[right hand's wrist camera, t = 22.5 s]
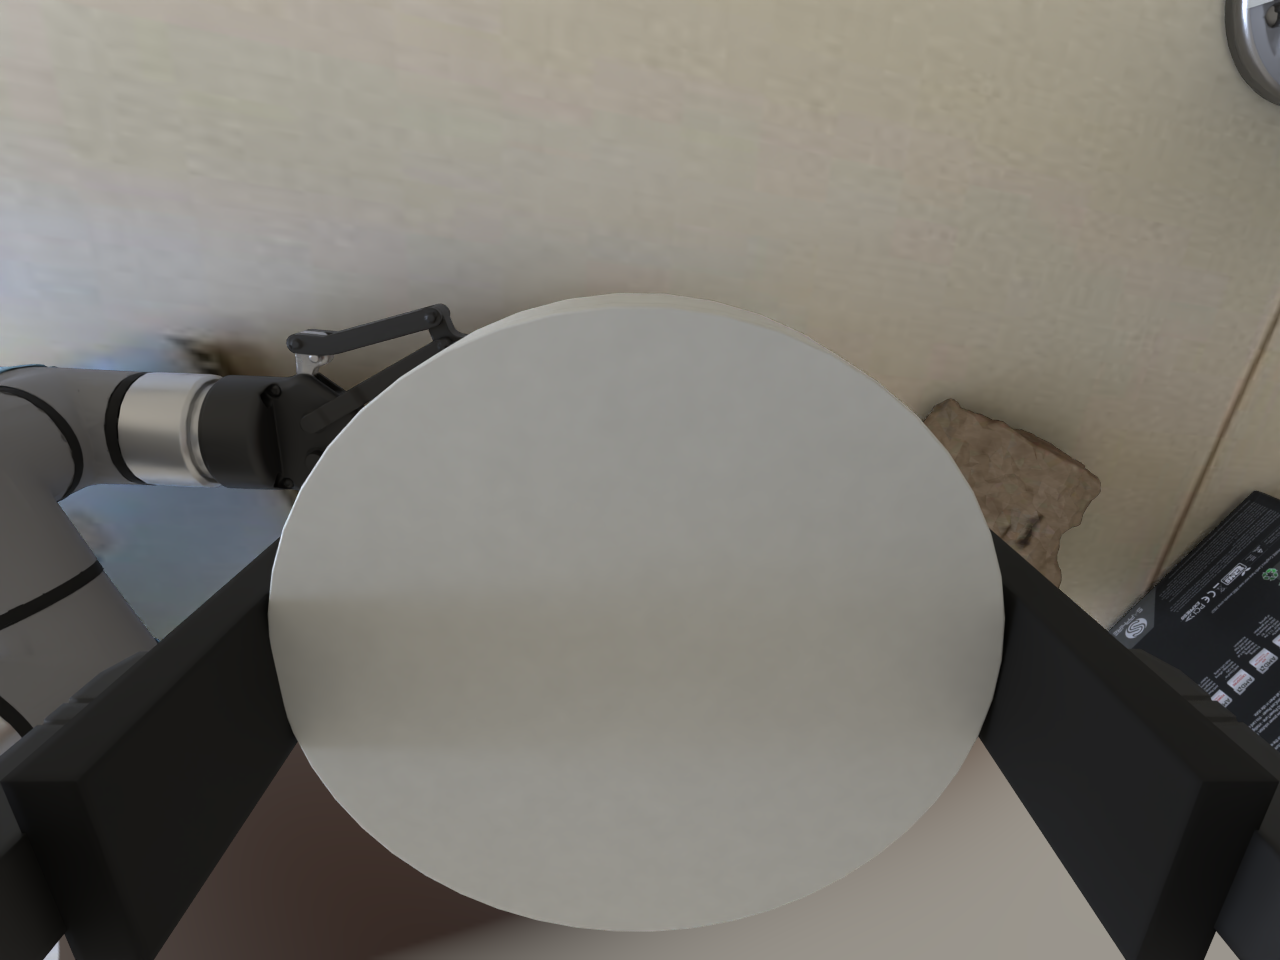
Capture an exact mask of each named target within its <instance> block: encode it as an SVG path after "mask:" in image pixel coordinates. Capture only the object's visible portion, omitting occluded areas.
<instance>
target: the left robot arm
mask: <svg viewBox="0 0 1280 960" xmlns="http://www.w3.org/2000/svg"><path fill="white" fill-rule="evenodd" d="M427 329H429V332H430V334H431V337H432V339H433V342H431V343H429V344H428V345H426V346H424V347H423V348H421V349H419V350H417V351H416V352H414V353H412V354H410V355H409V356H407V357H405V358H403V359H402V360H400V361H398V362H397V363H395V364H393V365H391V366H390V367H388V368H386V369H384V370H383V371H381V372H379V373H377V374H376V375H374V376H372V377H370V378H369V379H367V380H365V381H363V382H362V383H360V384H358V385H357V386H355V387H353V388H351V389H350V390H348V391H345V390H344V389H342V388H341V387H339V386H338V385H337V384H335V383H334V382H332V381H331V380H329V379H328V378H326V377H325V376H324V375H322V374H321V373H319V372H318V369H319V367H320V366H322V365H325V364H327V363H329V362H331V361H332V360H333V358H334V354H339V353H343V352H346V351H350V350H354V349H357V348H361V347H365V346H368V345H372V344H376V343H379V342H383V341H387V340H390V339H394V338H398V337H401V336H405V335H409V334H412V333H416V332H419V331H423V330H427ZM467 335H469V334H463V333H460V332H459V331H457V330H456V329H455V327H454V325H453V323H452V321H451V318H450V310H449V309H448V307H447V306H446V305H444V304H436V305H432V306H429V307H425V308H421V309H418V310H414V311H410V312H407V313H403V314H400V315H396V316H392V317H389V318H385V319H381V320H378V321H374V322H370V323H367V324H363V325H360V326H356V327H352V328H349V329H345V330H341V331H328V330H317V329H308V330H305V331H302V332H299V333H296V334H293V335H291V336H289V337H288V339H287V343H286V344H287V347H288V349H289V350H290V351H291V352H293V353H295V357H296V369H297V374H296V375H294V376H292V377H268V376H244V375H228V376H225V377H221V376H218V375H213V374H194V373H170V372H132V371H112V370H93V369H73V368H58V367H55V366H52V367H47V366H45V365H41V364H30V365H19V366H13V367H0V755H2V754H3V753H4V752H5V751H7V750H8V749H9V748H10V747H11V746H13V745H14V744H15V743H16V742H17V741H19V740H20V739H21V738H22V737H23V736H25V735H26V734H27V733H28V732H29V731H31V730H32V729H33V728H34V727H35V726H37V725H43V723H44V719H45V718H46V717H47V716H49V715H50V714H51V713H52V712H53V711H55V710H56V709H57V708H58V707H59V706H61V705H62V704H63V703H69V700H70V699H69V698H70V697H71V696H73V695H74V694H75V693H76V692H77V691H79V690H80V689H81V688H82V687H83V686H85V685H86V684H87V683H88V682H89V681H91V680H92V679H93V678H94V677H95V676H97V675H98V674H99V673H100V672H102V671H104V670H106V669H108V668H110V667H112V666H113V665H115V664H117V663H119V662H121V661H123V660H124V659H126V658H128V657H130V656H132V655H134V654H136V653H137V652H139V651H150V650H151V649H152V648H153V647H154V646H156V645H157V644H158V643H159V642H160V641H159V639H156V638H153V636H152V635H151V634H150V632H149V631H148V630H147V628H146V627H145V626H144V624H143V623H142V622H141V620H140V619H139V618H138V616H137V615H136V614H135V612H134V611H133V609H132V608H131V607H130V605H129V604H128V603H127V601H126V600H125V599H124V597H123V596H122V595H121V593H120V592H119V591H118V589H117V588H116V587H115V585H114V584H113V583H112V581H111V580H110V579H109V577H108V576H107V575H106V573H105V572H104V571H103V569H104V568H102V566H101V564H100V563H99V562H98V560H97V558H96V556H95V555H94V554H93V552H92V551H91V549H90V548H89V547H88V545H87V544H86V542H85V541H84V539H83V538H82V537H81V535H80V534H79V532H78V531H77V529H76V528H75V527H74V525H73V524H72V522H71V521H70V520H69V518H68V517H67V515H66V514H65V512H64V511H63V510H62V508H61V507H60V506H59V504H58V503H57V502H59V501H61V500H63V499H65V498H66V497H67V496H69V495H70V494H72V493H74V492H76V491H78V490H80V489H82V488H84V487H87V486H90V485H96V484H135V485H167V486H186V487H206V488H214V487H220V486H222V485H223V486H225V487H228V488H243V489H271V490H283V489H295V490H299V491H300V489H301V487H302V485H303V484H304V482H305V481H306V479H307V477H308V476H309V474H310V473H311V471H312V470H313V468H314V467H315V465H316V464H317V462H318V461H319V459H320V457H321V456H322V454H323V453H324V451H325V450H326V448H327V447H328V446H329V444H330V443H331V442H332V441H333V440H334V439H335V438H336V437H337V436H338V434H339V433H340V432H341V431H342V430H343V429H344V428H345V427H346V426H347V424H348V423H349V422H350V421H351V420H352V419H353V418H354V417H355V416H356V414H357V413H358V412H359V411H360V410H361V409H362V408H363V407H365V406H364V404H366V403H367V402H369V401H371V400H372V399H374V398H376V397H377V396H378V395H379V394H380V393H382V392H383V391H384V390H385V389H387V388H388V387H389V386H390V385H391V384H393V383H394V382H395V381H396V380H398V379H399V378H400V377H401V376H403V375H404V374H406V373H408V372H409V371H411V370H412V369H414V368H415V367H417V366H418V365H420V364H422V363H423V362H425V361H426V360H428V359H429V358H431V357H432V356H434V355H436V354H437V353H439V352H441V351H442V350H444V349H445V348H447V347H449V346H450V345H452V344H454V343H455V342H457V341H459V340H460V339H462V338H464V337H465V336H467Z"/></svg>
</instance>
